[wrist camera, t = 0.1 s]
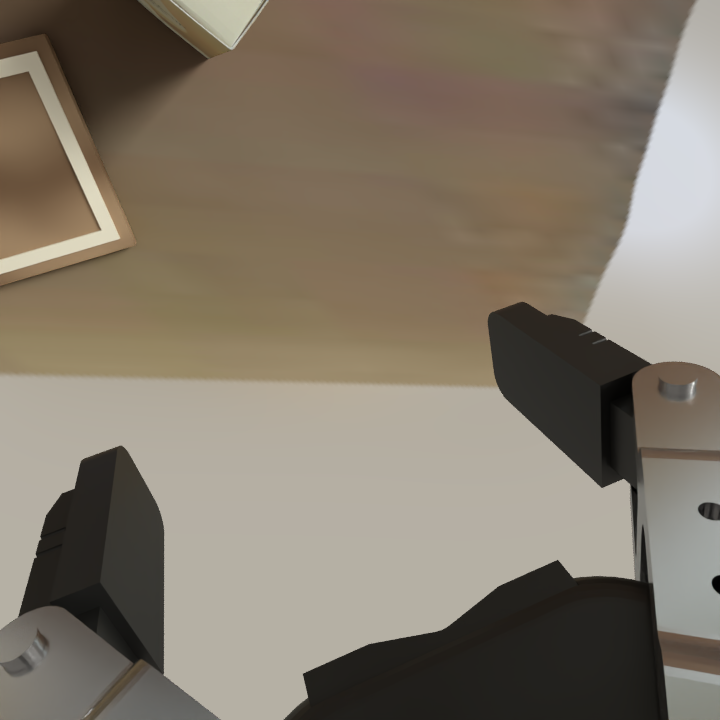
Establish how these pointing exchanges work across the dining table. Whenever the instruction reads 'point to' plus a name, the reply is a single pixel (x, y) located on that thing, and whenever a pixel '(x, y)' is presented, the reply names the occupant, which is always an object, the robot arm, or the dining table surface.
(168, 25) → the skincare box
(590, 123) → the dining table surface
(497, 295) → the dining table surface
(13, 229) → the marked board
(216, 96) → the dining table surface
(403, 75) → the dining table surface
